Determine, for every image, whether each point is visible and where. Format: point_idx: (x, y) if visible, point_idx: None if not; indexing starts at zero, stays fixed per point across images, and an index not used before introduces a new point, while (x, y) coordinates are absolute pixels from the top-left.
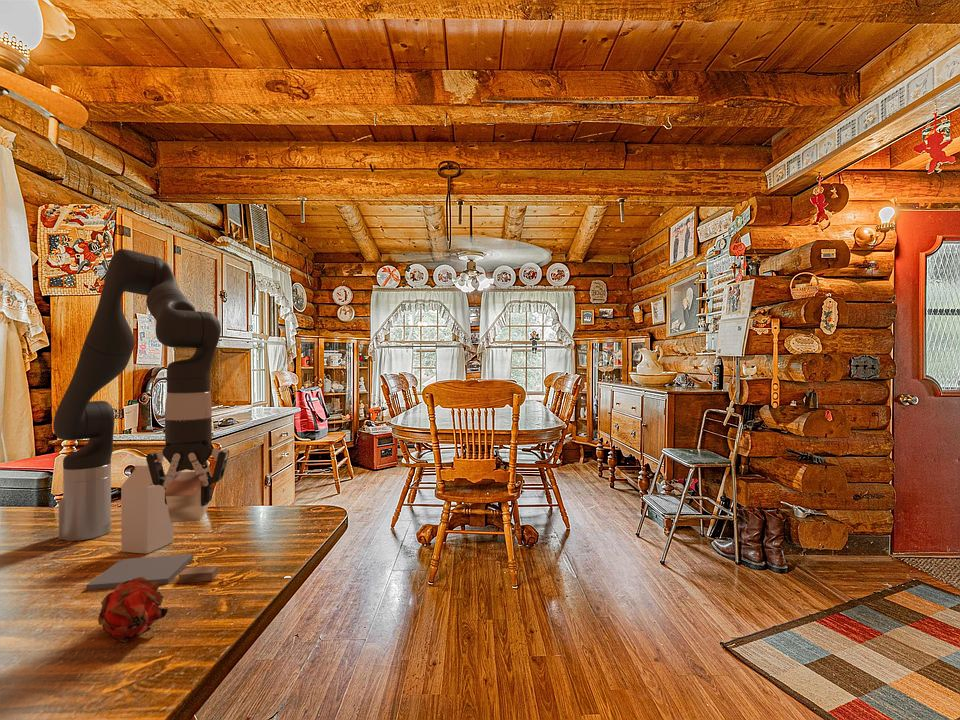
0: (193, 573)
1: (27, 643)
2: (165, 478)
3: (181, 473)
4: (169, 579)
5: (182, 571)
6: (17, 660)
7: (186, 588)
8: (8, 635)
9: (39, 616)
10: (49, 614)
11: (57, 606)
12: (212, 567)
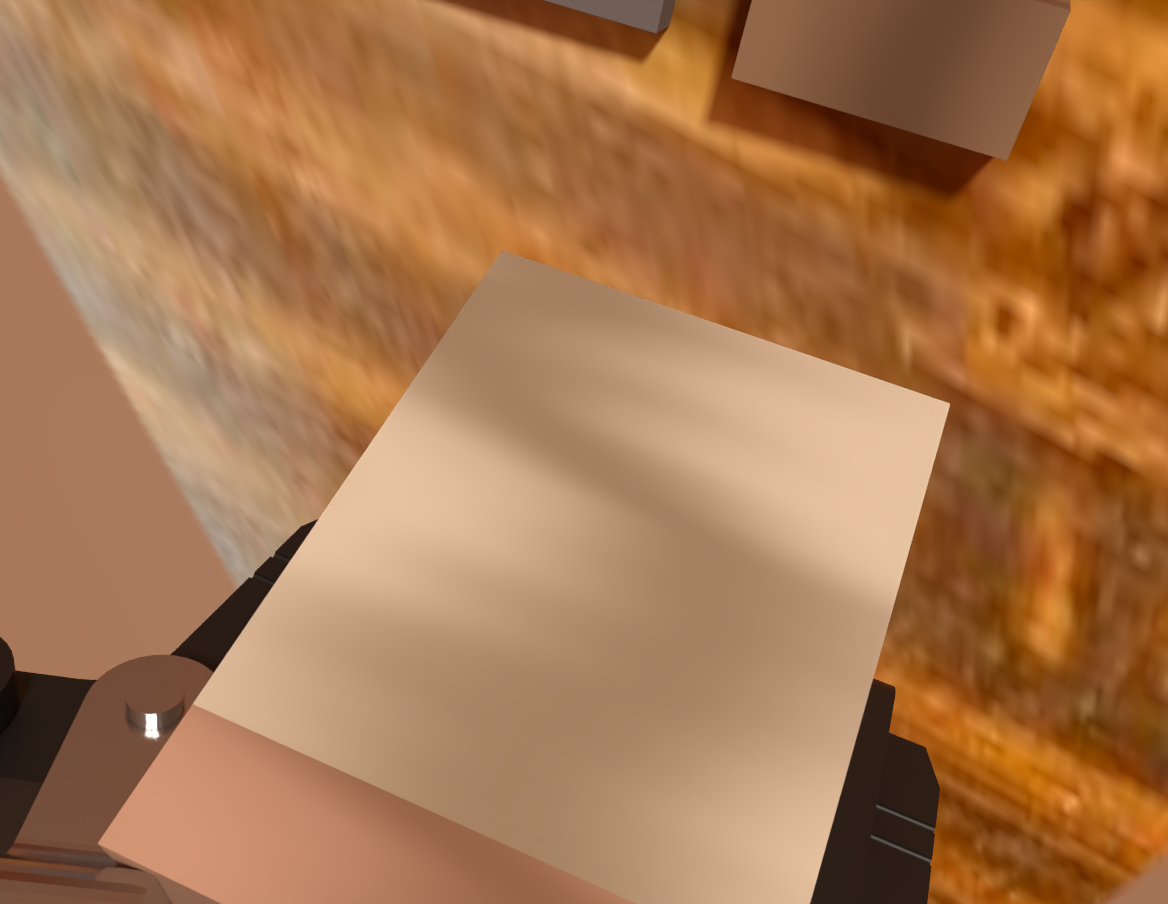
0: (846, 106)
1: (208, 452)
2: (20, 822)
3: (196, 900)
4: (667, 7)
5: (752, 5)
6: (248, 571)
7: (811, 194)
8: (90, 329)
9: (100, 177)
10: (134, 177)
11: (116, 78)
12: (1015, 32)
